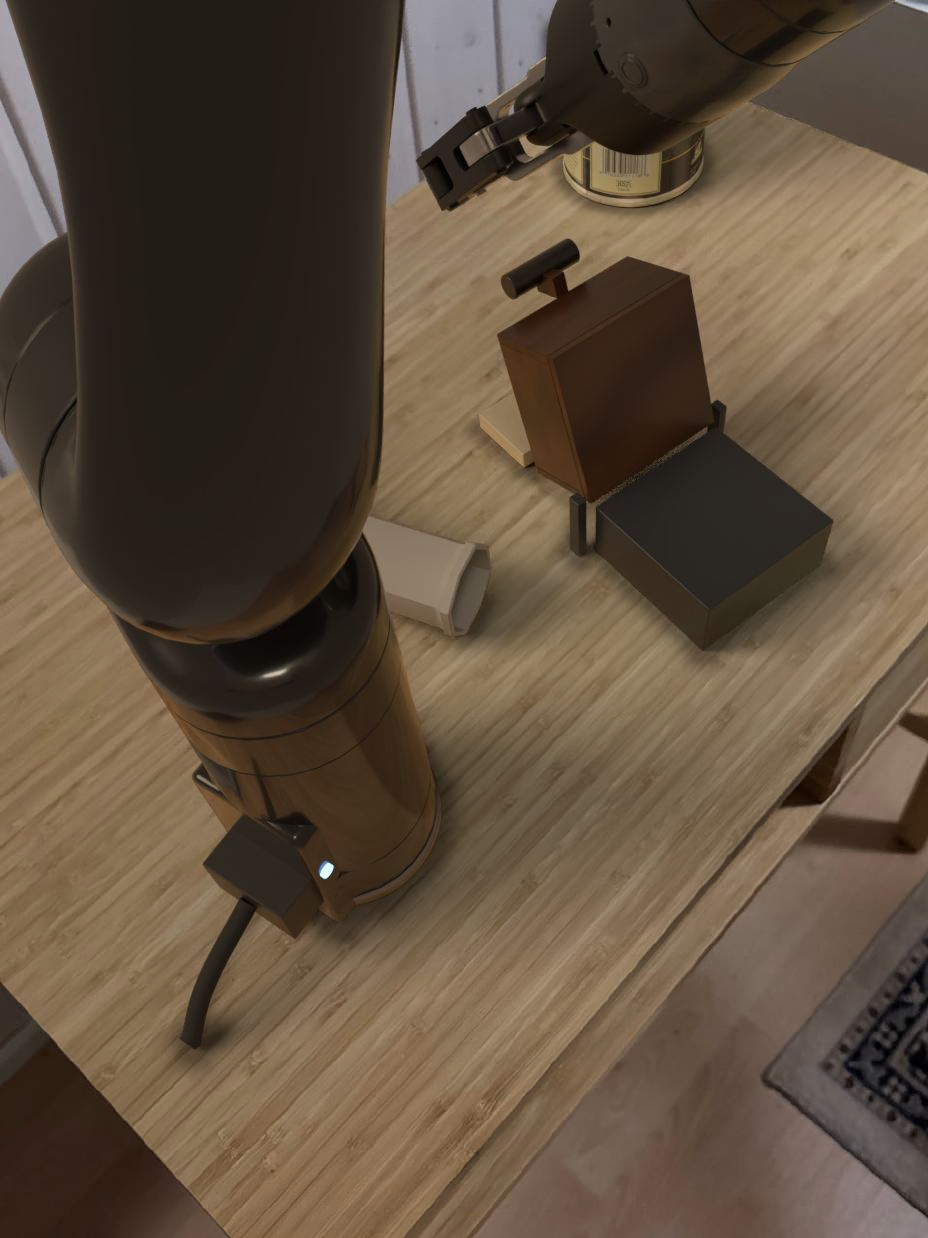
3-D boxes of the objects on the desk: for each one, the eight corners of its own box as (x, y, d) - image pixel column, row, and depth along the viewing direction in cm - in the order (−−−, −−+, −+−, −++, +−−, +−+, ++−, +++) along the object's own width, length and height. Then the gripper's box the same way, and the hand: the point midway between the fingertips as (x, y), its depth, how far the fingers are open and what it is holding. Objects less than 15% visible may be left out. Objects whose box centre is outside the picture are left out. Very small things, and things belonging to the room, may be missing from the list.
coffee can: (675, 108, 87) (689, -89, 75) (724, 189, 81) (747, -11, 69) (544, 138, 86) (537, -56, 75) (583, 222, 81) (583, 26, 69)
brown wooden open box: (684, 241, 57) (594, 216, 63) (544, 326, 55) (462, 292, 60) (714, 421, 64) (631, 385, 69) (591, 504, 62) (514, 460, 67)
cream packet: (565, 441, 70) (565, 428, 69) (524, 468, 69) (523, 454, 68) (520, 402, 72) (519, 388, 71) (479, 427, 71) (478, 413, 70)
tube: (48, 494, 66) (440, 623, 58) (87, 411, 67) (478, 528, 59) (97, 526, 71) (464, 649, 63) (132, 449, 72) (498, 561, 64)
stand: (834, 554, 63) (850, 501, 59) (689, 662, 60) (695, 613, 57) (710, 453, 68) (717, 398, 64) (569, 548, 65) (568, 497, 61)
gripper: (786, -156, 43) (587, 24, 58) (485, -13, 39) (355, 141, 54) (864, 37, 45) (651, 163, 60) (584, 192, 41) (432, 286, 56)
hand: (511, 153), depth 57 cm, fingers open, 8 cm apart
